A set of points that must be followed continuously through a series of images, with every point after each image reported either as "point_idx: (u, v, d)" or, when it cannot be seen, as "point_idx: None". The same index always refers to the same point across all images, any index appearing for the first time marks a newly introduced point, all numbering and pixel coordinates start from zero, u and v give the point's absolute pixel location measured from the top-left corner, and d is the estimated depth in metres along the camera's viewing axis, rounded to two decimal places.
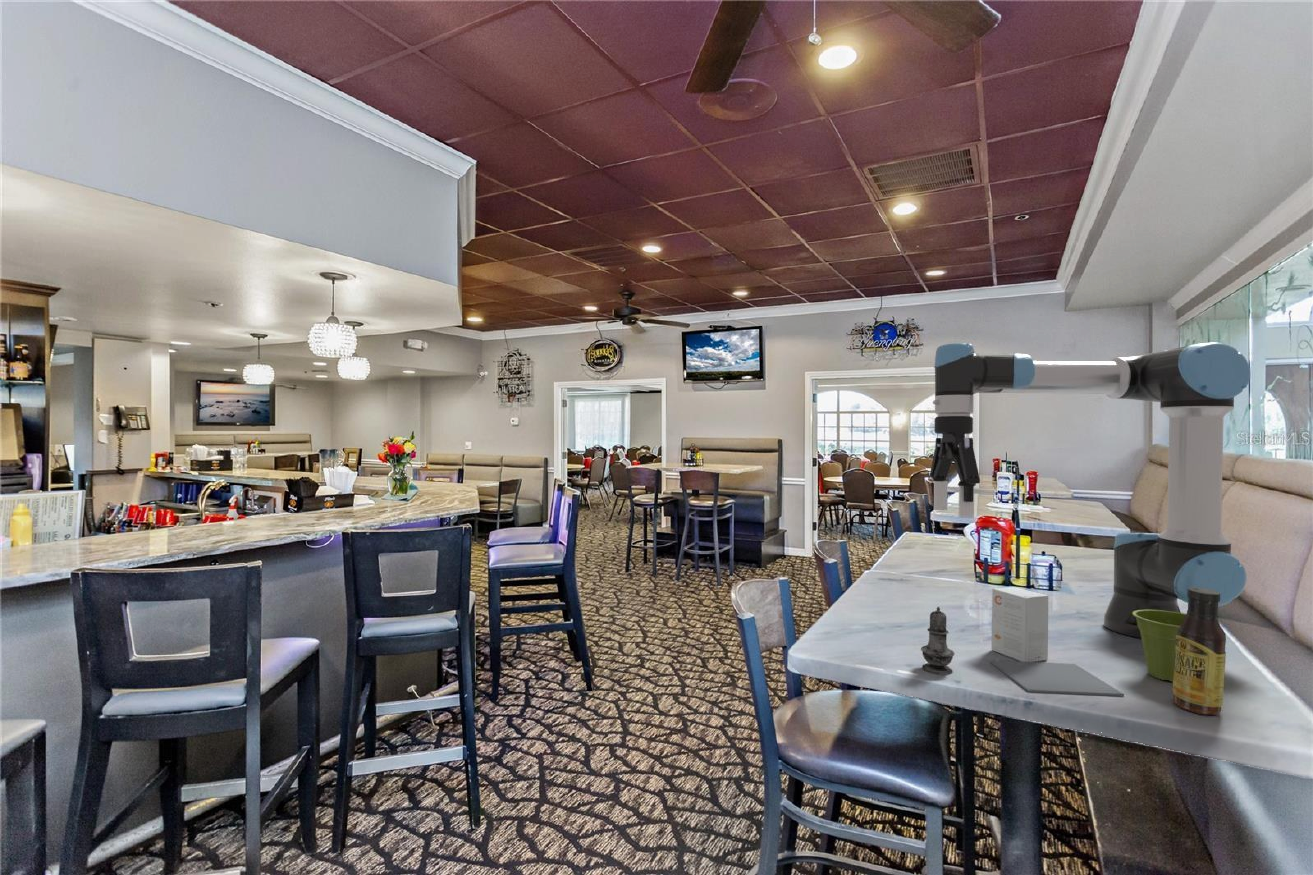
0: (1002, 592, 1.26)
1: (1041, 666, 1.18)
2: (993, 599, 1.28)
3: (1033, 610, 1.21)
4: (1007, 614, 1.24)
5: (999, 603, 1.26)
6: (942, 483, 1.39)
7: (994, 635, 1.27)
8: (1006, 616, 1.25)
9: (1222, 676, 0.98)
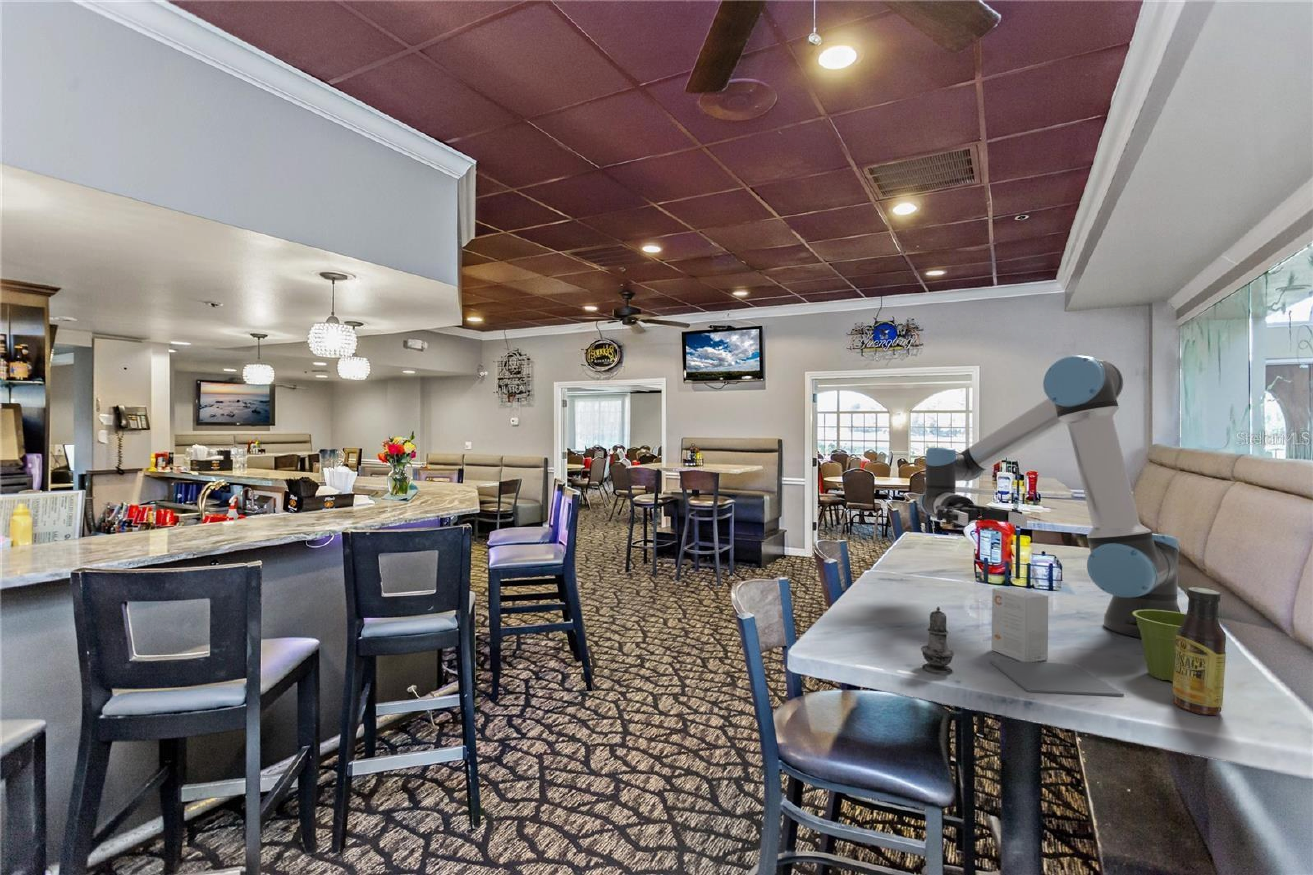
0: (1002, 592, 1.26)
1: (1041, 666, 1.18)
2: (993, 599, 1.28)
3: (1033, 610, 1.21)
4: (1007, 614, 1.24)
5: (999, 603, 1.26)
6: (1009, 516, 1.42)
7: (994, 635, 1.27)
8: (1006, 616, 1.25)
9: (1222, 676, 0.98)
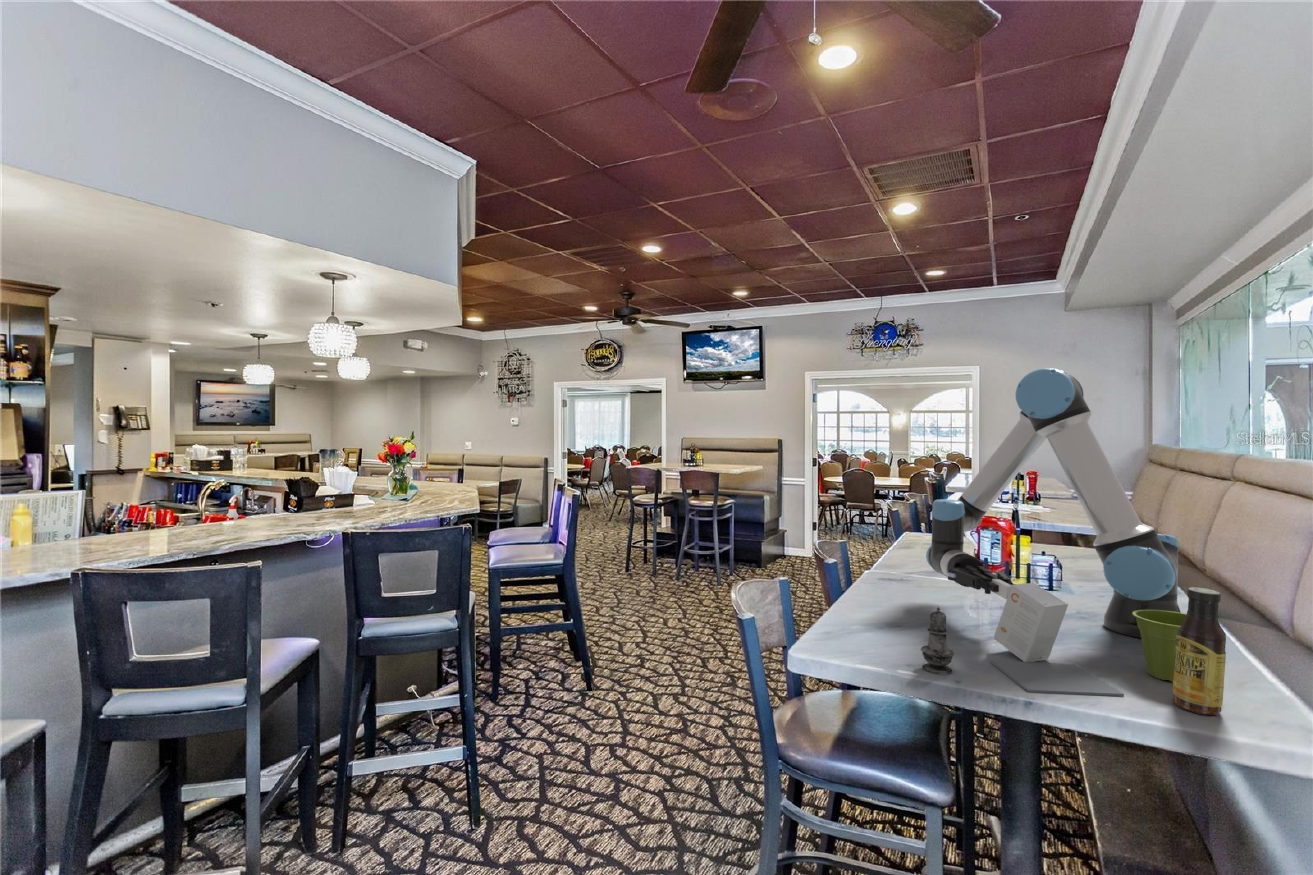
0: (1021, 592, 1.21)
1: (1041, 666, 1.18)
2: (1009, 595, 1.24)
3: (1049, 617, 1.18)
4: (1020, 614, 1.22)
5: (1014, 601, 1.23)
6: None
7: (1000, 627, 1.26)
8: (1018, 615, 1.22)
9: (1222, 676, 0.98)
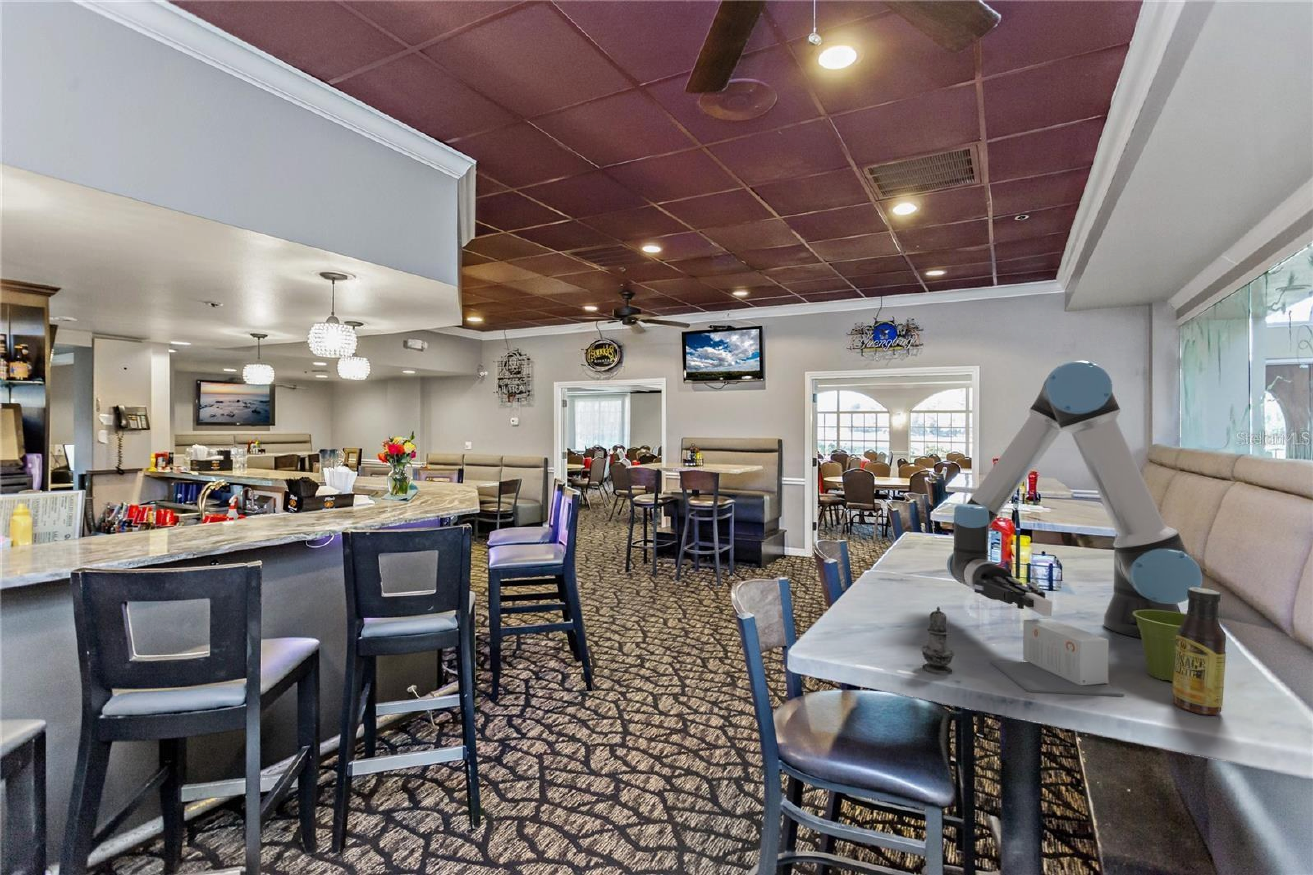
0: (1079, 655, 1.09)
1: None
2: (1069, 639, 1.11)
3: None
4: (1058, 653, 1.13)
5: (1067, 646, 1.11)
6: None
7: (1036, 629, 1.18)
8: (1056, 651, 1.13)
9: (1222, 676, 0.98)
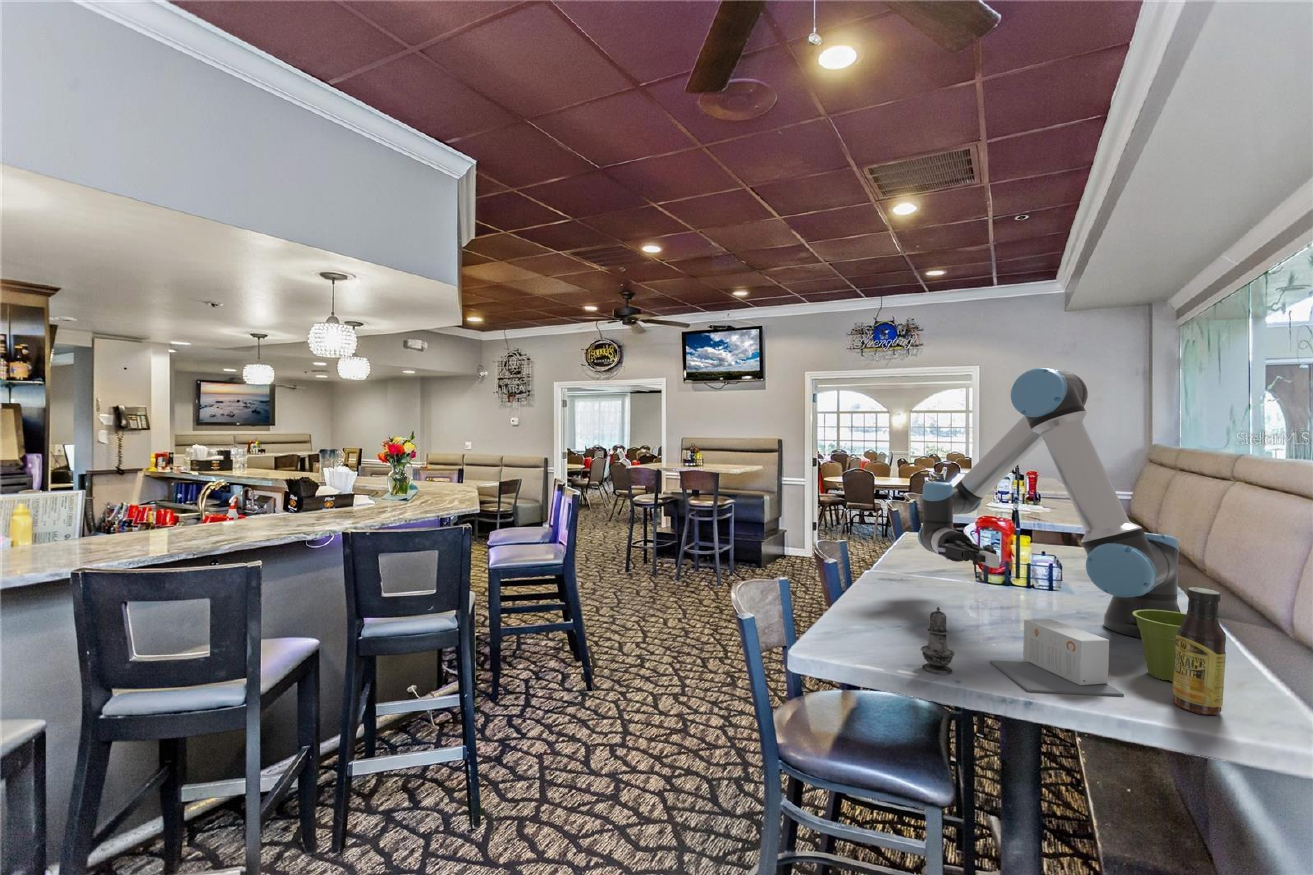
0: (1079, 654, 1.09)
1: None
2: (1070, 639, 1.11)
3: None
4: (1059, 653, 1.13)
5: (1067, 646, 1.11)
6: None
7: (1037, 629, 1.18)
8: (1056, 651, 1.14)
9: (1222, 676, 0.98)
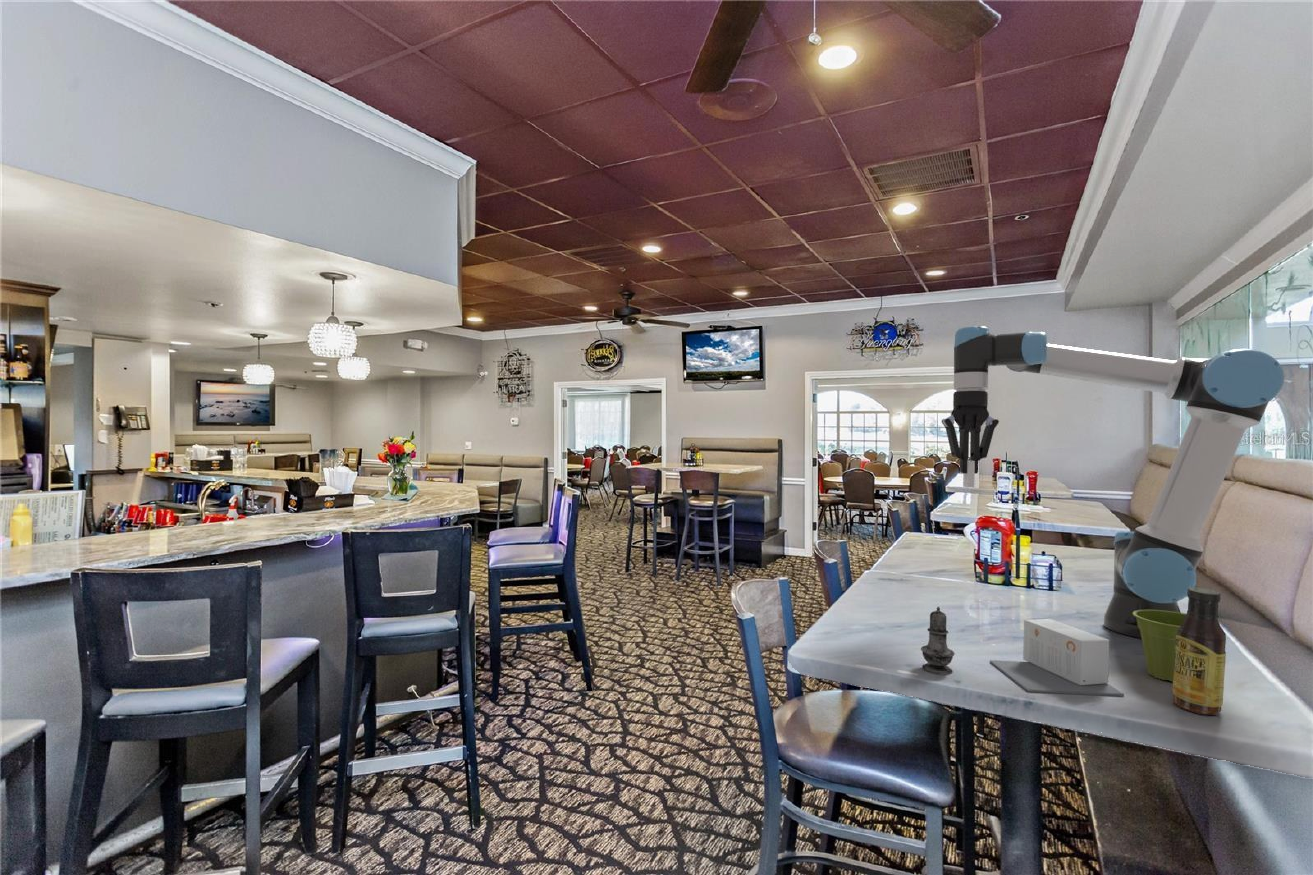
0: (1079, 654, 1.09)
1: None
2: (1070, 639, 1.11)
3: None
4: (1059, 653, 1.13)
5: (1067, 646, 1.11)
6: None
7: (1037, 629, 1.18)
8: (1056, 651, 1.14)
9: (1222, 676, 0.98)
